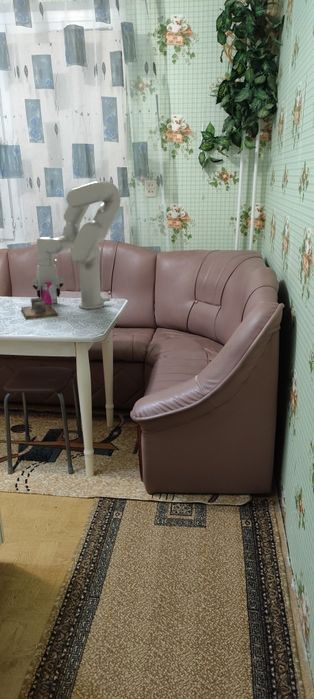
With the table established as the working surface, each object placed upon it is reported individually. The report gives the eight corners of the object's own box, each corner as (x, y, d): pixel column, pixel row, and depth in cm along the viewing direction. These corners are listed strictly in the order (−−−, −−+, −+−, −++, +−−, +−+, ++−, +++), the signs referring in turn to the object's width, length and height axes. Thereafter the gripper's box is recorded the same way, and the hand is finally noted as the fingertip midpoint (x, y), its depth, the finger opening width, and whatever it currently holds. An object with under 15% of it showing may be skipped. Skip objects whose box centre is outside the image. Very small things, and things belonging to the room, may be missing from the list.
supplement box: (49, 301, 262) (48, 279, 258) (58, 303, 259) (56, 280, 255) (41, 304, 257) (39, 281, 254) (49, 305, 254) (47, 282, 250)
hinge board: (50, 307, 251) (49, 294, 249) (57, 316, 235) (56, 302, 233) (21, 310, 246) (20, 297, 244) (26, 319, 230) (25, 305, 228)
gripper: (62, 260, 258) (64, 294, 263) (27, 262, 252) (30, 297, 257) (65, 262, 251) (67, 297, 257) (29, 265, 245) (32, 300, 251)
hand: (48, 297), depth 257 cm, fingers open, 8 cm apart
